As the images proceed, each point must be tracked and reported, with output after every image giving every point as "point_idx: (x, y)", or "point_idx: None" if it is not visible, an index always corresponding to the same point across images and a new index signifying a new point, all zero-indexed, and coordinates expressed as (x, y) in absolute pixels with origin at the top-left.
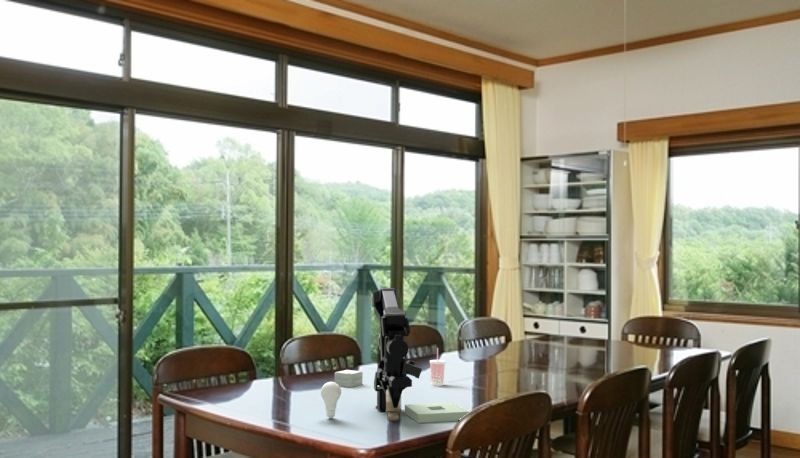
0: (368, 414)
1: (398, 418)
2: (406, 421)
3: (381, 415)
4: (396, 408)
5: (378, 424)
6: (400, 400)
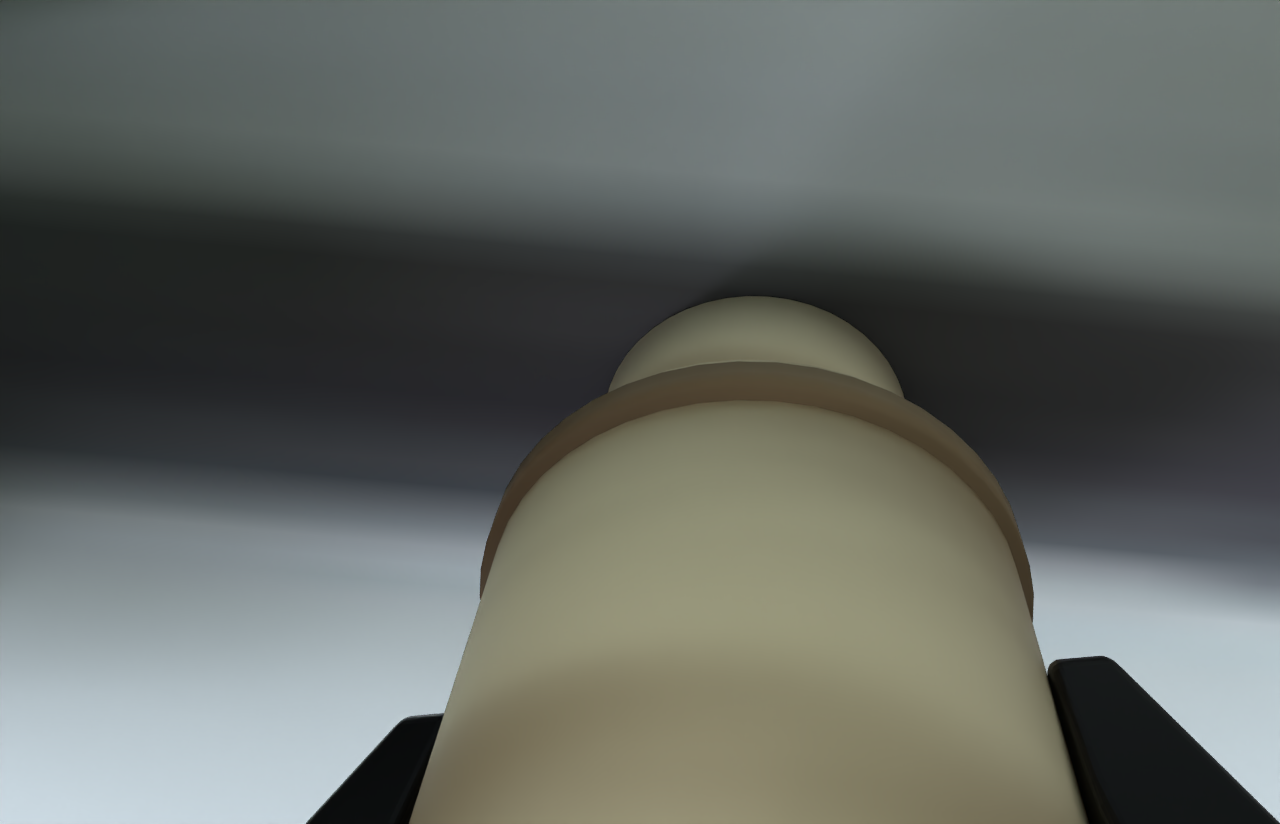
0: (244, 819)
1: (799, 320)
2: (1068, 73)
3: (293, 626)
4: (1033, 636)
5: (1226, 765)
6: (889, 728)
